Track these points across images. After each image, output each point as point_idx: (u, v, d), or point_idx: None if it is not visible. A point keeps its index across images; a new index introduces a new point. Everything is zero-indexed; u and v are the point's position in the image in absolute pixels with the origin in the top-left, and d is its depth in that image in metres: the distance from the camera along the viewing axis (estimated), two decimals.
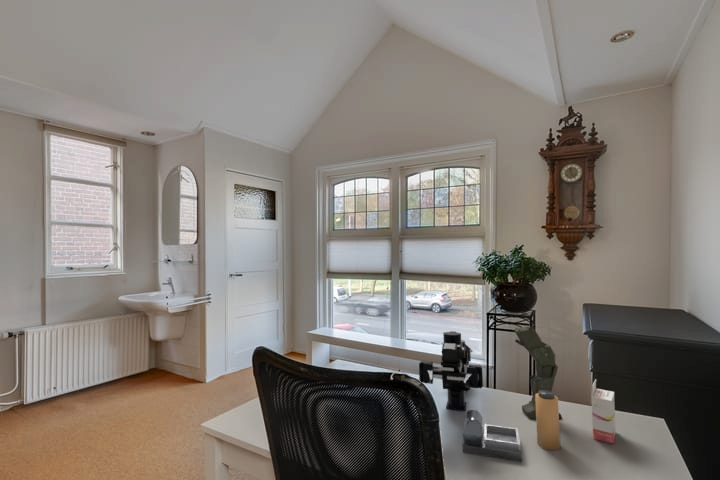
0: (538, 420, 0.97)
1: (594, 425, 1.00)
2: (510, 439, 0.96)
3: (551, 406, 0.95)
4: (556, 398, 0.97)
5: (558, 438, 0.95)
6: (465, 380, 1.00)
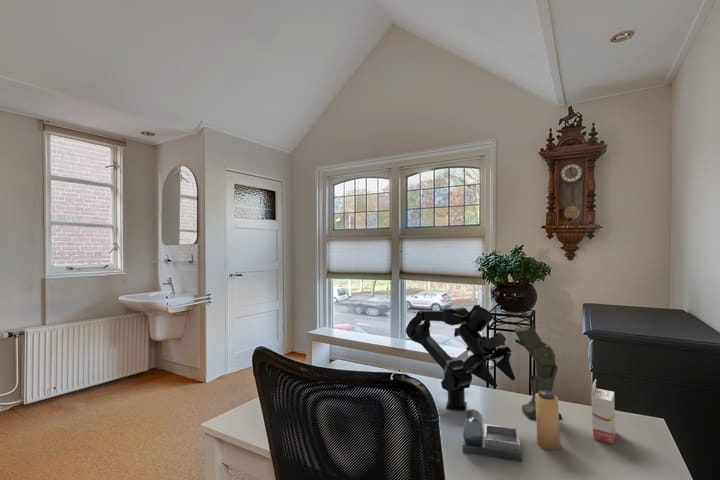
0: (538, 420, 0.97)
1: (594, 425, 1.00)
2: (510, 439, 0.96)
3: (551, 406, 0.95)
4: (556, 398, 0.97)
5: (558, 438, 0.95)
6: (512, 374, 1.10)
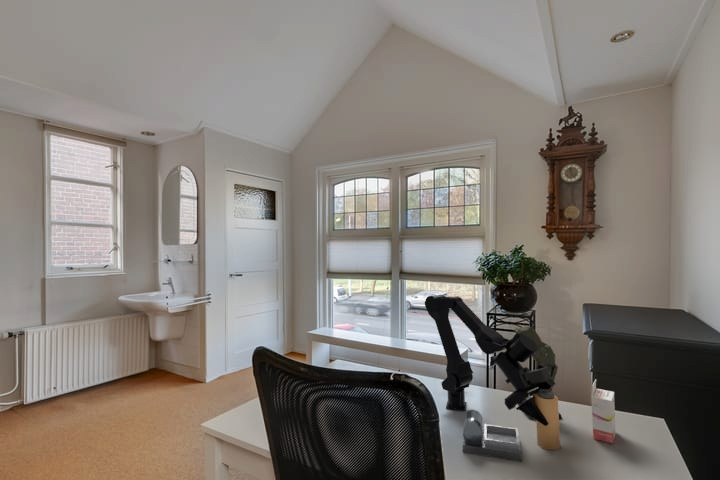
0: None
1: (594, 425, 1.00)
2: (510, 439, 0.96)
3: (551, 406, 0.95)
4: (556, 398, 0.97)
5: (558, 438, 0.95)
6: None
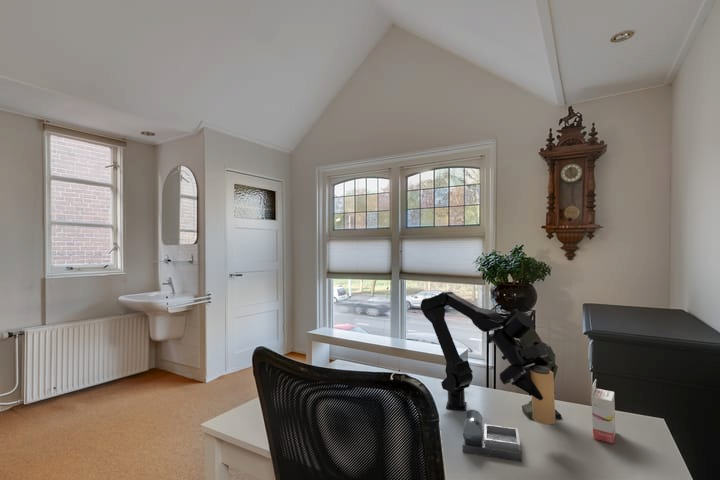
0: None
1: (594, 425, 1.00)
2: (510, 439, 0.96)
3: (546, 380, 0.95)
4: (551, 373, 0.97)
5: (553, 413, 0.95)
6: None
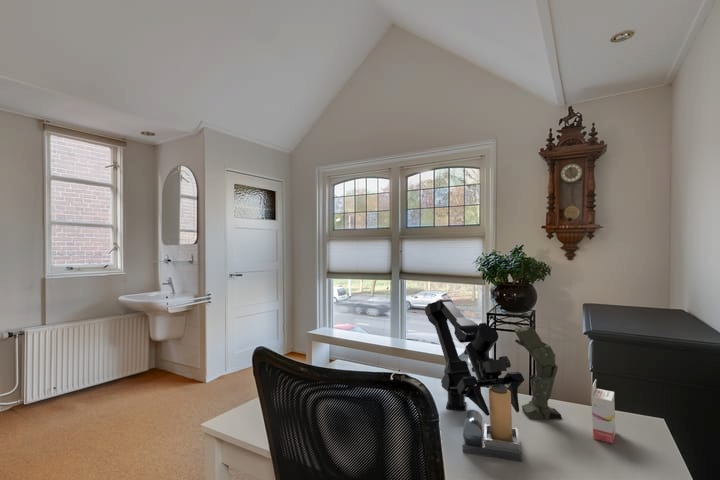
0: None
1: (594, 425, 1.00)
2: None
3: (498, 400, 0.95)
4: (507, 393, 0.96)
5: (507, 433, 0.94)
6: (517, 404, 0.97)
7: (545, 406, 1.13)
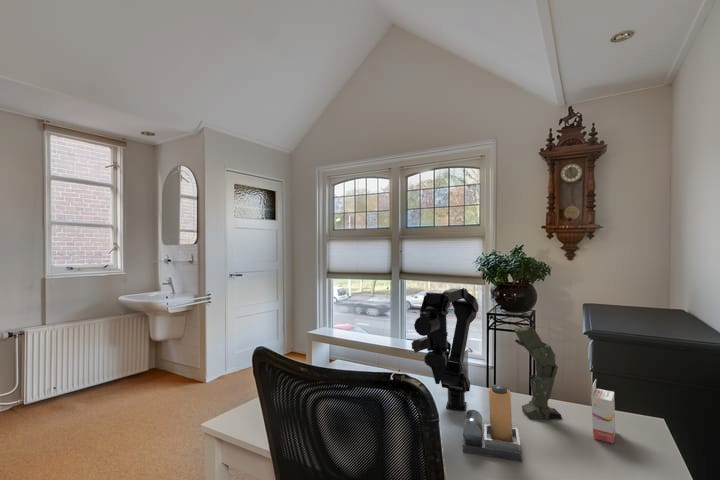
0: None
1: (594, 425, 1.00)
2: None
3: (498, 400, 0.95)
4: (507, 393, 0.95)
5: (507, 433, 0.94)
6: None
7: (545, 406, 1.13)
